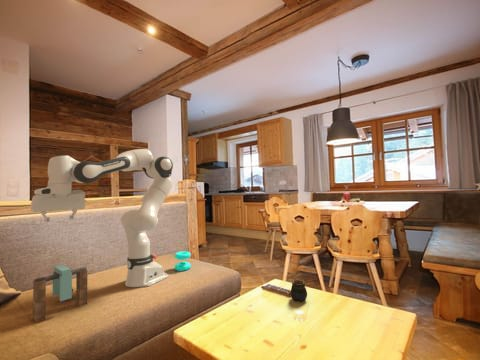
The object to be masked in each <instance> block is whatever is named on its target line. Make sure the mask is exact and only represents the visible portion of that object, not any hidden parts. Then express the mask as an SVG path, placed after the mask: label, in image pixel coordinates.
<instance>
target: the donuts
mask: <svg viewBox="0 0 480 360" xmlns="http://www.w3.org/2000/svg"><path fill="white" fill-rule="evenodd" d="M191 255H192V254H191V252H189V251H186V250H185V251H177V252H176V253H175V254H174V258H175V259H176V260H179V261H181V262H177V263H176V264H175V265H174V269H175V270H176V271H177V272H185V271H188V270H189V269H191V267H192V265H191V263H190V262H188V261H184V260H187V259H189V258H190V257H191Z"/></svg>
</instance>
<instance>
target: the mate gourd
mask: <svg viewBox="0 0 480 360" xmlns="http://www.w3.org/2000/svg"><path fill="white" fill-rule="evenodd" d="M305 285H306V282H305V281H304V280H302V279H293V280H292V281H291V289H290V291H289V294H290V297H291V299H292V300H293V301H294V302H296V303H303V302H305V301H306V300H307V297H308V291H307V288H306V286H305Z"/></svg>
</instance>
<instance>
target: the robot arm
mask: <svg viewBox="0 0 480 360" xmlns="http://www.w3.org/2000/svg"><path fill="white" fill-rule="evenodd" d="M47 164H48V165H47V176H48V181H47V186H46V187H42V188H37V189H35V190H34V191H33V193H34V195H33V196H32V198H31V202H30V211H32V212H33V213H40V214H41V216H42V217H43V221H44V223H48V222H50V217H48V216H47V212H54V211H55V212H56V211H57V212H58V211H70V210H71V212H72V213H71V215H68V216H69V218H68V219H69V220H74V219H75V215H76V214H77V212H78V210H84V209H85V208H86V199H85V198H86V192H85V190H82V189H72V184H73V182H75V183H77V184H92V183H94V182H96V181H97V180H98V179H100V178H101V177H102V176H105V175H107V174H112V173H114V172H118V171H122V172H131V171H136V170H141V169H142V171H143V172H144V174H145V176H146V177H148V178H149V179H154V180H153V182H152V184H151V185H150V187H148V189H147V190H146V192H145V194H144V195H143V196H142V203H141V206H140V208H139V209H138V210H137V209H132V210H128V211H125V212H124V213H123V214H121V217H120V222H121V225H122V227H123V228H124V231H125V237H126V241H127V253H128V254H127V262H126V263H127V264H126V266H127V273H126V277H125V278H126V279H125V282H124V285H125V287H128V288H141V287H142V288H143V287H151V286H152V285H154V284H157V283H158V282H161V281H162V280H165V279H167V278H168V277H169V275H168V273H167V272H164V271H165V270H164V267H163V266H162V265H161V264H159V262H156V261H154V260H155V259H157V255H156V254H151V242H150V238H149V237H148V235H147V232H151V231H153V230H155V229H156V228H157V226H158V224H159V219H158V213H159V211H160V208H161V206H162V205H163V203H164V202H165V201H166V198H168V195H169V194H170V192H171V189H172V187H173V185H174V184H173V180H172V179H171V176H172V172H173V169H174V163H173V160H172V159H171V158H169V157H167V156H159V157H157V158H155V157H154V156H153V154H152V152H151V151H150V150H149V149H148V148H137V149H132V150H126V151H124V152H121V153H119V154H117V156H116V157H115V158H111V159H108V160H102V161H99V162H98V161H97V162H96V161H91V160H84V161H81V162H80V161H79V160H76V159H74V158H73V157H71V156H70V155H67V154H59V155H58V154H57V155H54V156H51V157H50V159H49V161H48V163H47Z"/></svg>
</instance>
